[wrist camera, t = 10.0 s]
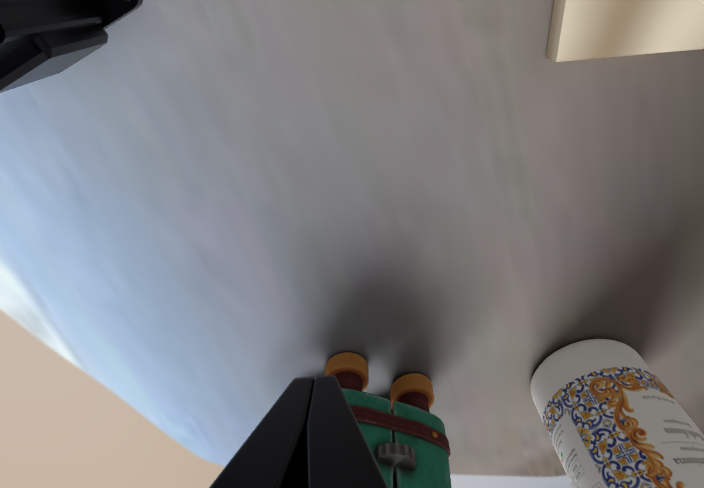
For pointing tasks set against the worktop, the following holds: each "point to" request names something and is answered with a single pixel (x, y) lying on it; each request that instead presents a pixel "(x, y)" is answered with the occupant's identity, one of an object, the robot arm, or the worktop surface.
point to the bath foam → (615, 420)
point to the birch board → (623, 28)
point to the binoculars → (397, 425)
